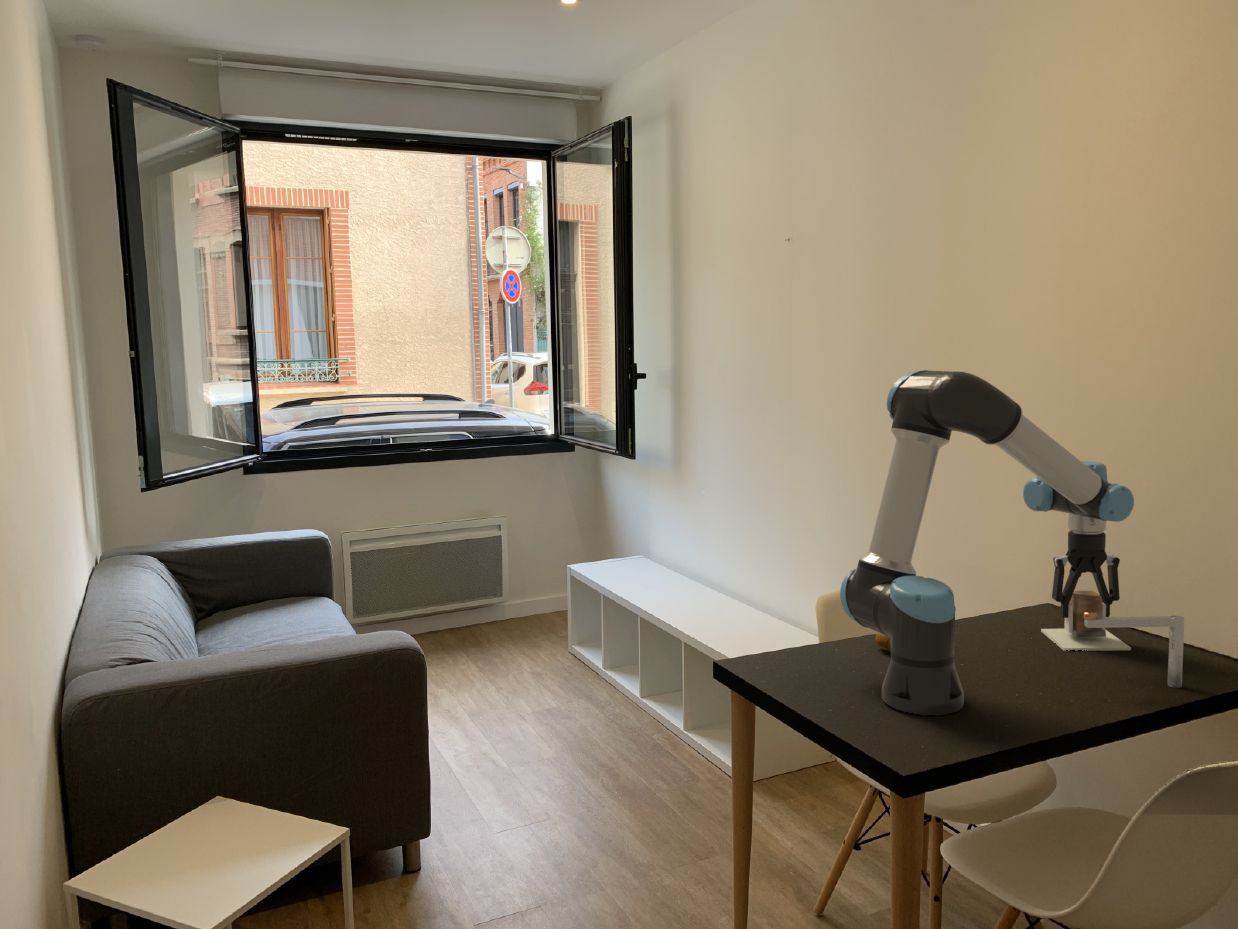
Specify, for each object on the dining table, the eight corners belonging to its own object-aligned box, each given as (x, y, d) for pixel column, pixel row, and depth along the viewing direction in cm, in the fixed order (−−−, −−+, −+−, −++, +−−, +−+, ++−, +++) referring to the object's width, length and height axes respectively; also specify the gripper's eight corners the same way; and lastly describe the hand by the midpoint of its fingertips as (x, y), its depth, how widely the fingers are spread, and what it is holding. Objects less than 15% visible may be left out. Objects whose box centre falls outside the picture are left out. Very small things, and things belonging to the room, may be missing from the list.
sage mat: (1064, 651, 204) (1064, 648, 204) (1041, 631, 218) (1041, 629, 218) (1130, 650, 203) (1130, 647, 203) (1103, 630, 217) (1103, 628, 217)
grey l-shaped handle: (1184, 687, 181) (1187, 613, 179) (1085, 688, 183) (1086, 614, 181) (1177, 683, 183) (1180, 609, 181) (1080, 684, 185) (1081, 611, 183)
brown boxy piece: (1075, 637, 207) (1076, 598, 206) (1064, 628, 214) (1065, 590, 212) (1105, 636, 207) (1106, 597, 206) (1093, 627, 213) (1094, 589, 212)
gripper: (1048, 535, 204) (1046, 637, 207) (1140, 533, 203) (1137, 635, 206) (1035, 528, 212) (1034, 626, 215) (1124, 526, 210) (1121, 625, 213)
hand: (1084, 630), depth 210 cm, fingers closed on brown boxy piece, 6 cm apart
